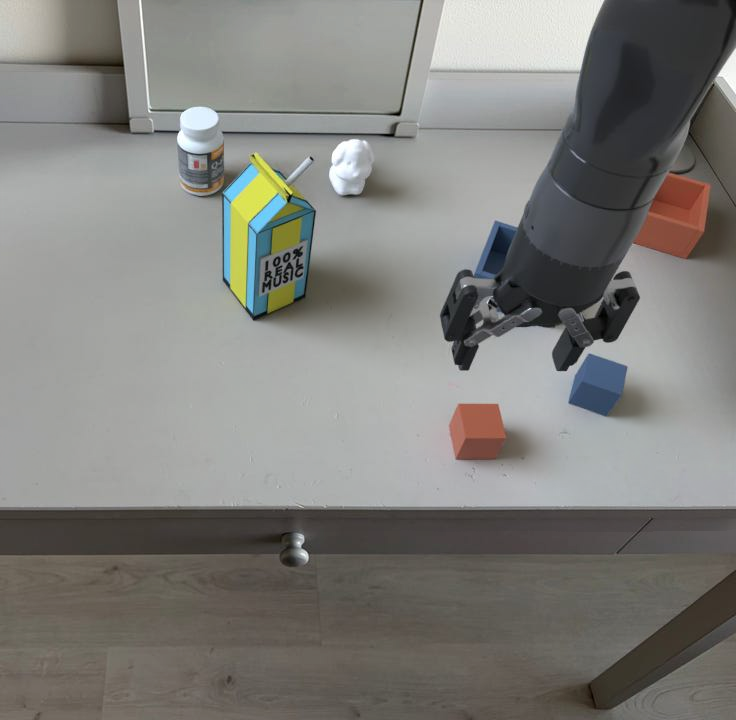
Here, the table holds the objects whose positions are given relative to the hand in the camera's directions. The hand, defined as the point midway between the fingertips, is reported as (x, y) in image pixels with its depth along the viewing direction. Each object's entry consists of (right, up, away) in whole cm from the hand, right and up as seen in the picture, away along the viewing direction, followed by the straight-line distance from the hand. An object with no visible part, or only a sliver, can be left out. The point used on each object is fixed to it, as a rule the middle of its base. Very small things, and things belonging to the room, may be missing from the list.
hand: (510, 363), depth 68 cm
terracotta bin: (+28, +18, +31) cm, 45 cm away
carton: (-21, +9, +22) cm, 32 cm away
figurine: (-10, +23, +34) cm, 42 cm away
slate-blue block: (+13, -3, +15) cm, 20 cm away
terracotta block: (0, -8, +11) cm, 13 cm away
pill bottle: (-29, +23, +33) cm, 50 cm away
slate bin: (+8, +9, +24) cm, 27 cm away
